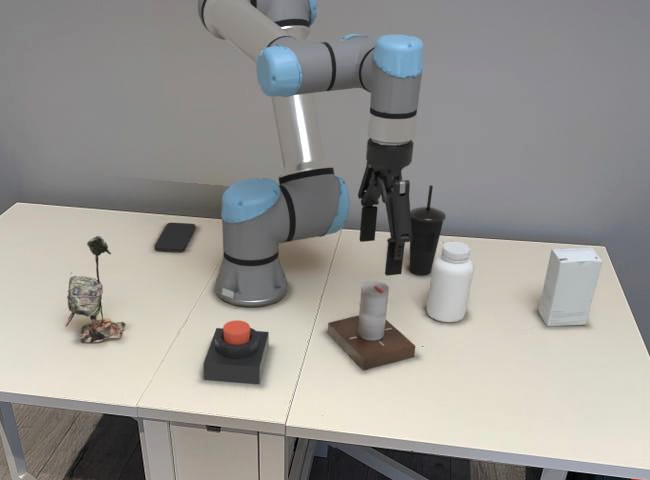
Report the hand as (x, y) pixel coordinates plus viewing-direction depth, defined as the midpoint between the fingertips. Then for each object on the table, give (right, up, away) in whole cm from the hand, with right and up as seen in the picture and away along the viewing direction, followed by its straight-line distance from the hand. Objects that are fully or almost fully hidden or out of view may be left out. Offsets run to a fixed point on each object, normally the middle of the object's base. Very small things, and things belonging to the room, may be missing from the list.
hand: (379, 256), depth 136 cm
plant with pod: (-53, -13, +13) cm, 57 cm away
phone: (-43, +11, +49) cm, 66 cm away
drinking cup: (+14, +2, +36) cm, 39 cm away
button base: (-26, -19, +5) cm, 32 cm away
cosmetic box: (+39, -10, +19) cm, 45 cm away
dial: (0, -13, +9) cm, 16 cm away
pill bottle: (+16, -9, +20) cm, 28 cm away
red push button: (-26, -15, +2) cm, 29 cm away
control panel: (0, -16, +10) cm, 19 cm away
